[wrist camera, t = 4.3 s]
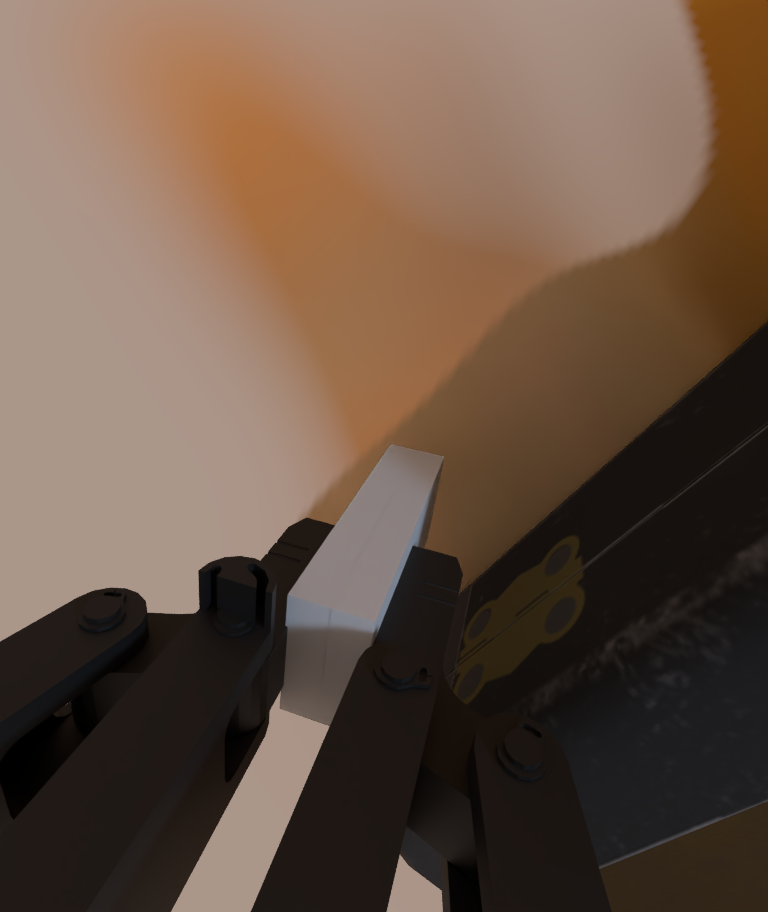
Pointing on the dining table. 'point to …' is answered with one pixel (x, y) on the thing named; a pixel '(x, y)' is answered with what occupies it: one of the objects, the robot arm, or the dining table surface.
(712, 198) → the dining table surface
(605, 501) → the cash box
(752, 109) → the dining table surface
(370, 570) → the robot arm
